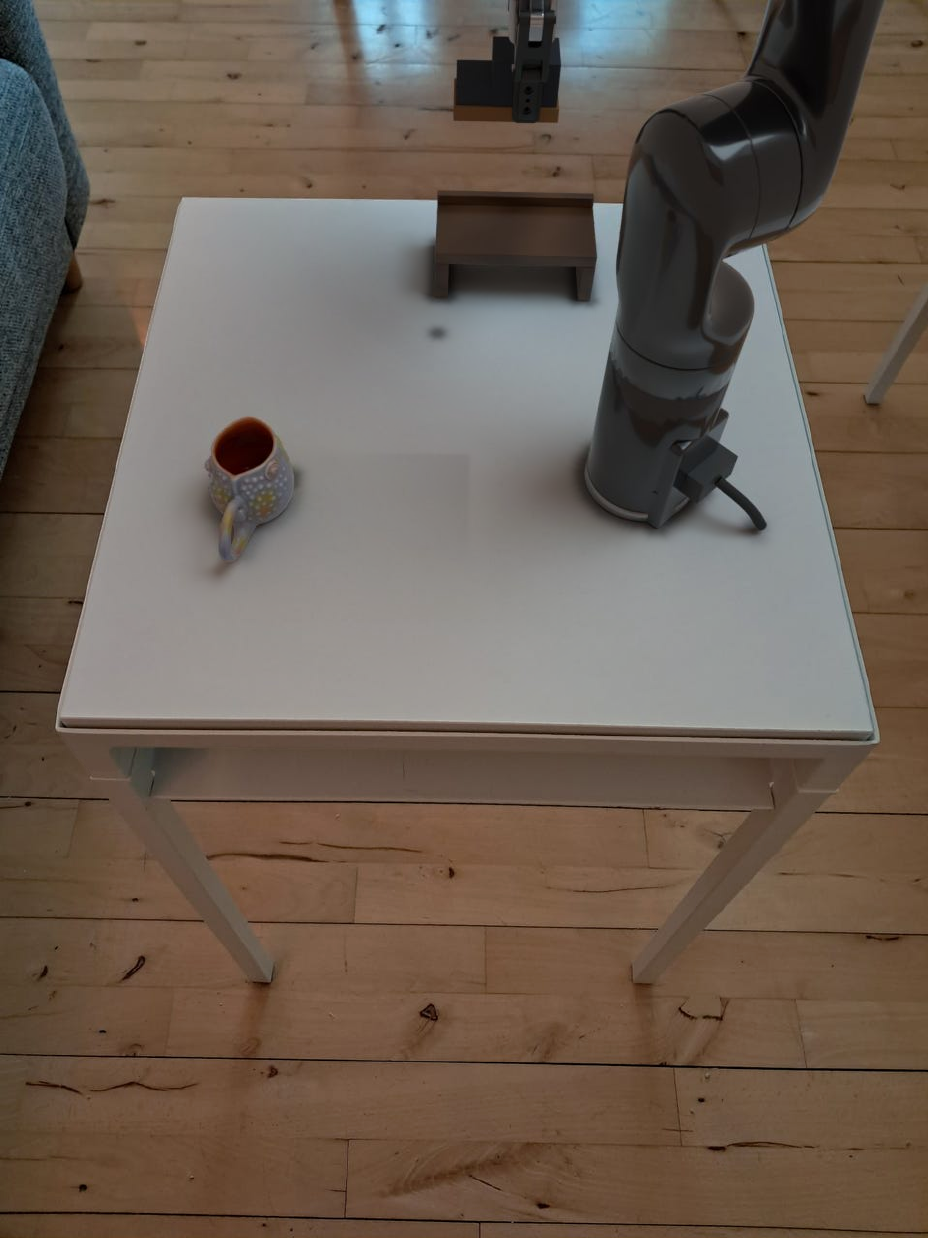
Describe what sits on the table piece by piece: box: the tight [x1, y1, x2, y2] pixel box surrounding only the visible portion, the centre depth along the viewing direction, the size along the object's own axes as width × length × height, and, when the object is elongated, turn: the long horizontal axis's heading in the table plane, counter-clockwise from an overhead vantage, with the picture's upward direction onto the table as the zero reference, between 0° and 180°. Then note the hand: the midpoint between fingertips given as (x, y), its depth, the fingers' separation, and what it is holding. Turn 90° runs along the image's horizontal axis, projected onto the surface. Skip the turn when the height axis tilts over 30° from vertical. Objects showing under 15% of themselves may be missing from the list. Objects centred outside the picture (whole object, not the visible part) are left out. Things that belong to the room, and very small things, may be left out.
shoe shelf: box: [434, 189, 598, 302], centre depth 92 cm, size 15×8×6 cm, turn 89°
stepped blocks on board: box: [452, 35, 562, 124], centre depth 74 cm, size 8×4×5 cm, turn 90°
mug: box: [204, 415, 295, 563], centre depth 75 cm, size 12×7×7 cm, turn 170°
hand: (524, 102), depth 76 cm, fingers closed on stepped blocks on board, 4 cm apart
